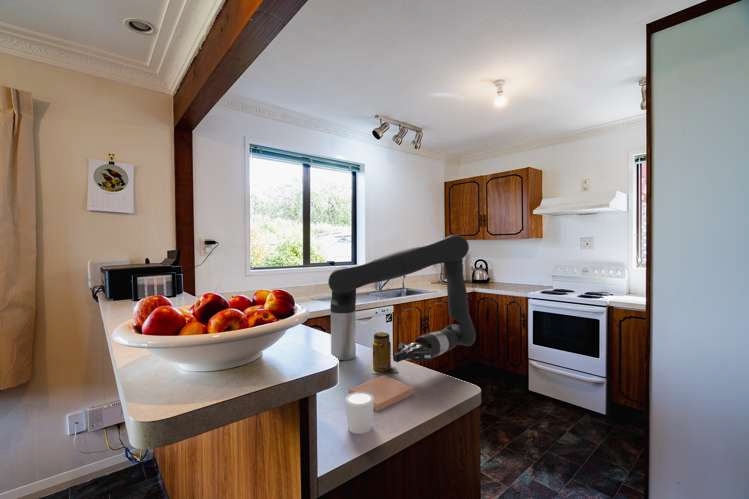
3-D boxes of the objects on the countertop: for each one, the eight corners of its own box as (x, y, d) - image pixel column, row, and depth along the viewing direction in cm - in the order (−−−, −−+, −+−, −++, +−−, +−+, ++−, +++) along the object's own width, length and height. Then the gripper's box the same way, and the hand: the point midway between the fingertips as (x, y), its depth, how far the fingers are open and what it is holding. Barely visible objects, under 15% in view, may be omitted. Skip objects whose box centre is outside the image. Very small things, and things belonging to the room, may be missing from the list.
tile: (384, 374, 106) (348, 388, 96) (413, 387, 97) (377, 404, 87) (384, 381, 106) (348, 396, 96) (413, 395, 97) (377, 412, 87)
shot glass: (339, 430, 79) (339, 401, 79) (354, 416, 85) (354, 389, 85) (365, 438, 76) (365, 408, 75) (379, 423, 82) (379, 394, 81)
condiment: (371, 365, 118) (370, 331, 117) (395, 364, 119) (395, 330, 118) (373, 374, 110) (372, 338, 110) (398, 373, 111) (398, 337, 111)
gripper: (416, 329, 116) (379, 340, 105) (448, 338, 106) (411, 351, 95) (416, 351, 117) (379, 364, 105) (448, 361, 107) (411, 377, 95)
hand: (394, 358), depth 100 cm, fingers closed
